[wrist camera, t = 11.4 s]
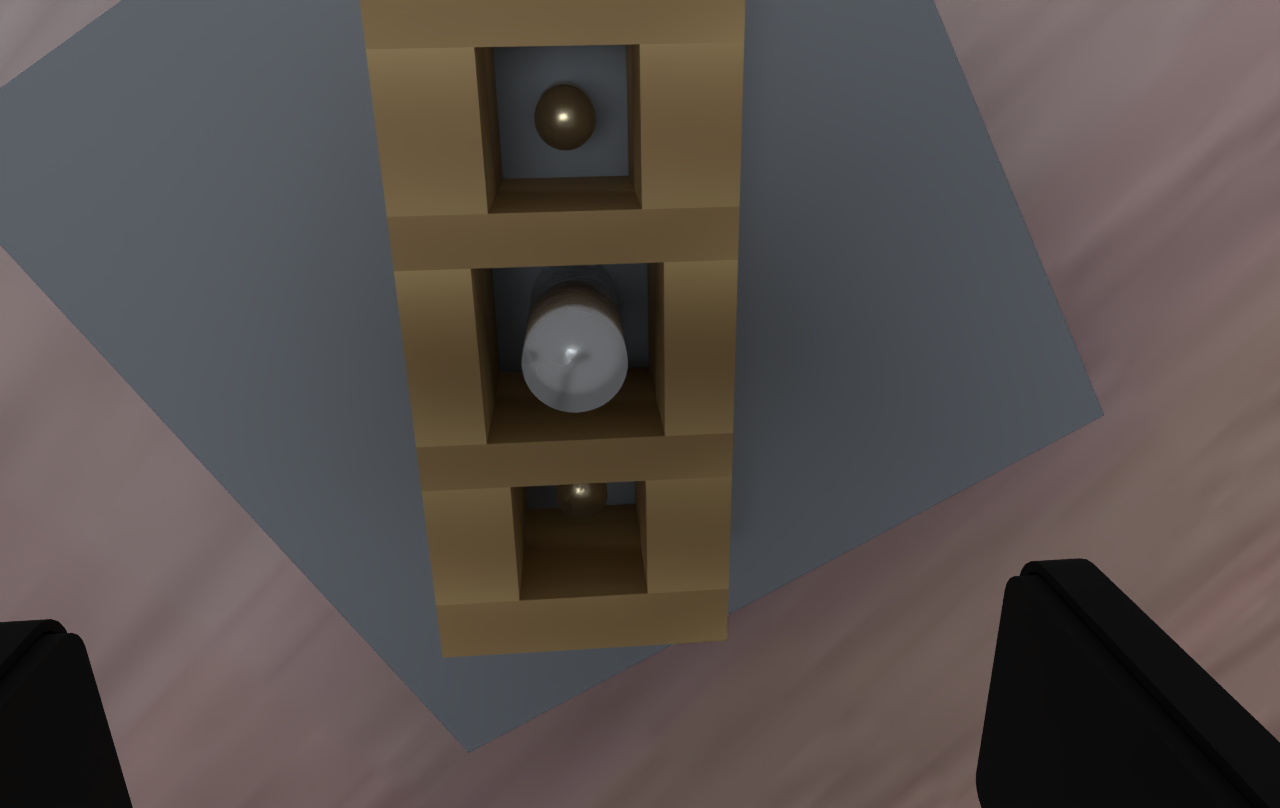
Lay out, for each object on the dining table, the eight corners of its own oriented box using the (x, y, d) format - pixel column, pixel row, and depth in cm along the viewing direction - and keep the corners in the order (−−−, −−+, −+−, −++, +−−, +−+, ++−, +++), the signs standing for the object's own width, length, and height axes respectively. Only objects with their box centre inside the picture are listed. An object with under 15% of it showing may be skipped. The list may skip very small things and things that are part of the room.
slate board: (473, 716, 27) (468, 752, 26) (-42, 141, 20) (-87, 150, 19) (1074, 393, 25) (1103, 415, 23) (732, -414, 17) (746, -453, 16)
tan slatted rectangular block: (702, 546, 24) (727, 640, 20) (461, 558, 24) (442, 657, 20) (711, -34, 18) (746, -49, 15) (397, -31, 18) (354, -45, 14)
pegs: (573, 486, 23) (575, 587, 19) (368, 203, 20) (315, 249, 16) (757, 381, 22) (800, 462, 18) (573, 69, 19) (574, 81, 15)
